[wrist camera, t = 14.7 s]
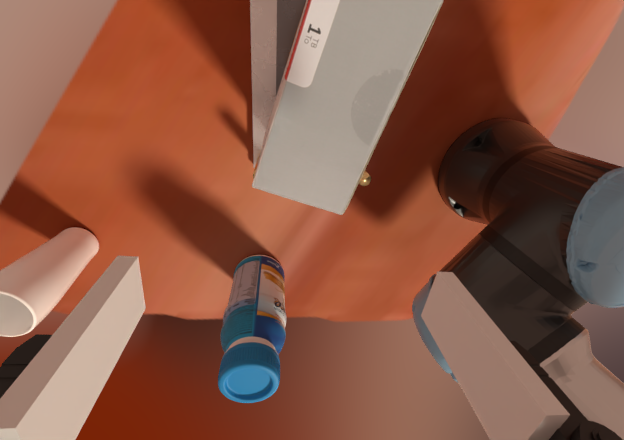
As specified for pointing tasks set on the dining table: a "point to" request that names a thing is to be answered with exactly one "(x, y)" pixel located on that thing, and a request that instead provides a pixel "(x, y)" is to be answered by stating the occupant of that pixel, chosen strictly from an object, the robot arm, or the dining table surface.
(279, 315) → the beverage bottle
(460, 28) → the dining table surface
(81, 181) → the dining table surface
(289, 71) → the hard drive box
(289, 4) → the mounting plate
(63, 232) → the drinking glass
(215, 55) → the dining table surface
